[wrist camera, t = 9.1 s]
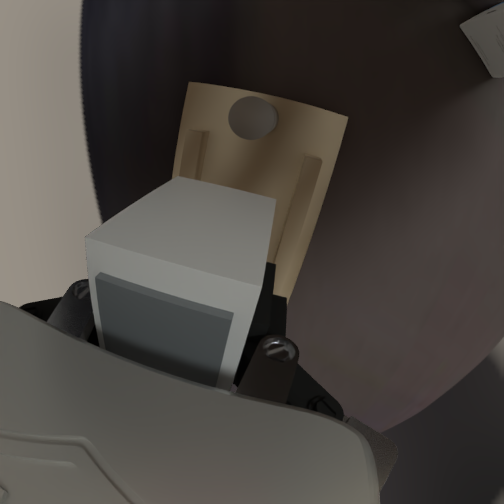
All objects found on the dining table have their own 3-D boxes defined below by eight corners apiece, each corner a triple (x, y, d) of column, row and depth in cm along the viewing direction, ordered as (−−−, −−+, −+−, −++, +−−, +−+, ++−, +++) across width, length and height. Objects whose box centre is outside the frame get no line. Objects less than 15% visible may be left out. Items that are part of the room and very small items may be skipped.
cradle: (345, 117, 16) (370, 118, 11) (281, 314, 23) (276, 369, 18) (193, 83, 16) (153, 73, 11) (166, 283, 24) (136, 329, 18)
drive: (276, 199, 11) (260, 294, 5) (236, 344, 15) (211, 450, 9) (177, 175, 11) (78, 241, 5) (164, 324, 15) (115, 418, 9)
